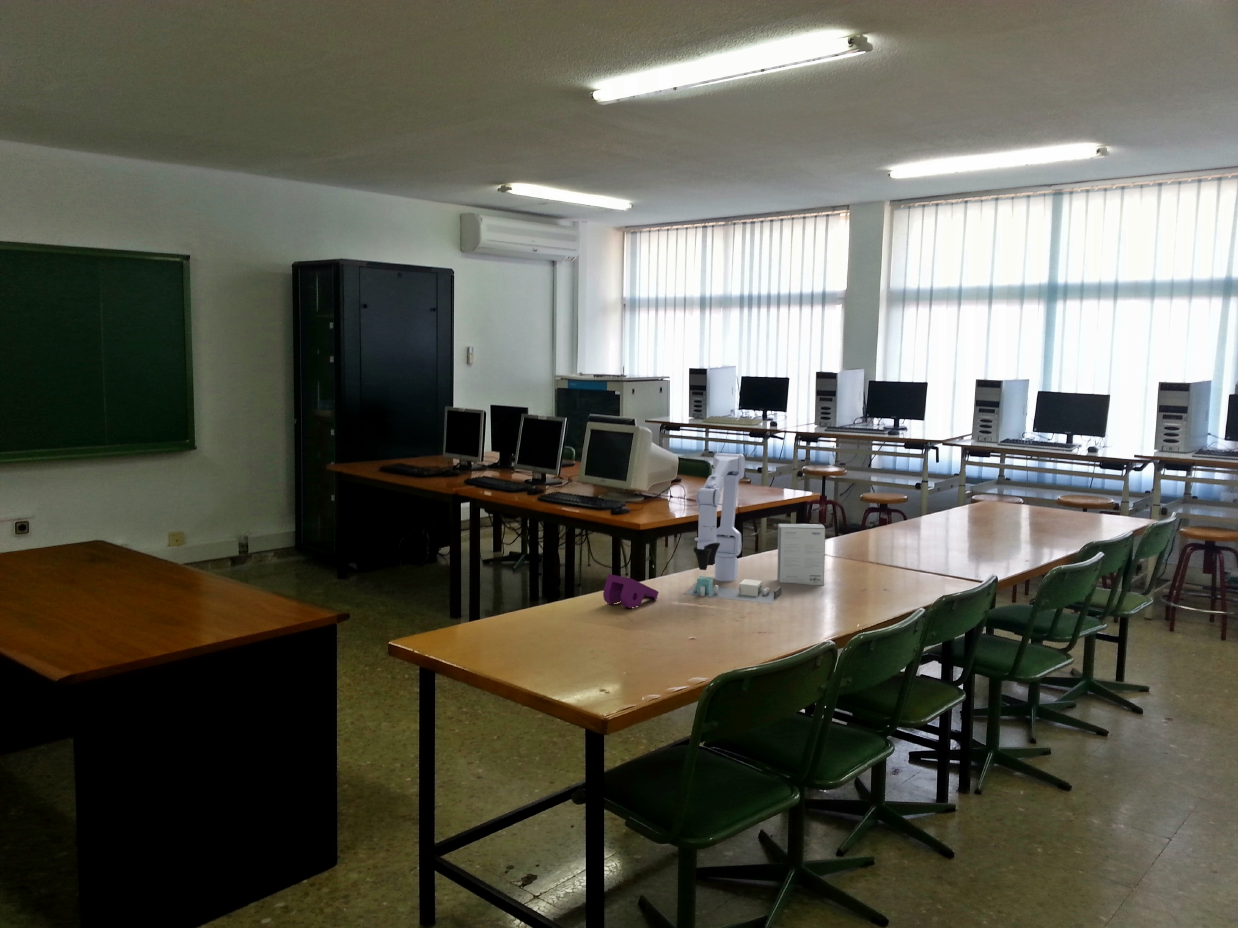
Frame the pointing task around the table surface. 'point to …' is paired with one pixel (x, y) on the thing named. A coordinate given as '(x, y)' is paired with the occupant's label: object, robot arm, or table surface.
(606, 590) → the mounting bracket
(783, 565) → the hard drive box
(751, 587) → the block
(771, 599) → the base plate
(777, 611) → the table surface
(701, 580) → the teal block
